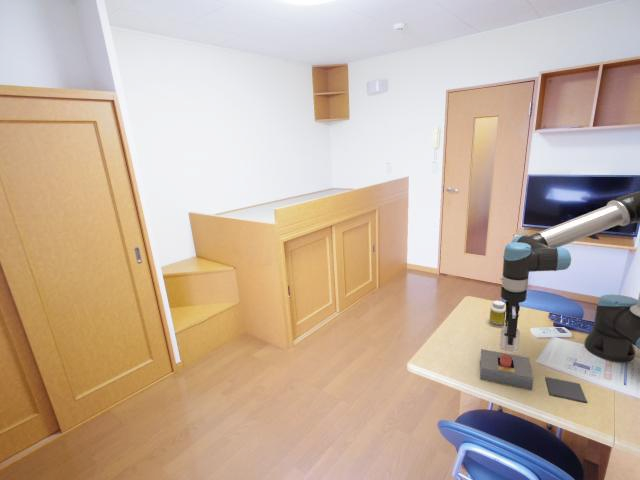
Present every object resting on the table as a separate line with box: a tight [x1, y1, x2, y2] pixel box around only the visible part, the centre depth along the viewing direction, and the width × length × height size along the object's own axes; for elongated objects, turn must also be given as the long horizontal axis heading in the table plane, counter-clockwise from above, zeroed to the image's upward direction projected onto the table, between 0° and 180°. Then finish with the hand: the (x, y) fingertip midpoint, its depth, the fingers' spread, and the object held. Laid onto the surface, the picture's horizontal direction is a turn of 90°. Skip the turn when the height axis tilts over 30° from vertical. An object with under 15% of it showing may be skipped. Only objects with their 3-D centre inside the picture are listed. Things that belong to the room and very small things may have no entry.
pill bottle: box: [488, 300, 506, 328], centre depth 154 cm, size 6×6×11 cm
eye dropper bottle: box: [499, 321, 520, 352], centre depth 118 cm, size 4×6×12 cm
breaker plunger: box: [500, 353, 512, 368], centre depth 121 cm, size 4×4×6 cm
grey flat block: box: [479, 348, 535, 391], centre depth 122 cm, size 16×12×5 cm
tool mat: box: [544, 376, 588, 404], centre depth 113 cm, size 10×9×1 cm
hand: (508, 347), depth 119 cm, fingers closed on eye dropper bottle, 3 cm apart
